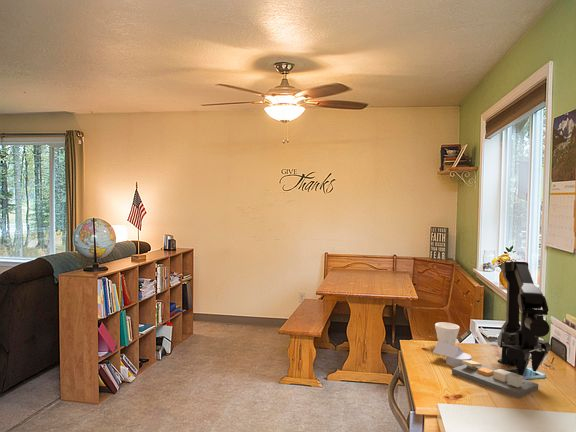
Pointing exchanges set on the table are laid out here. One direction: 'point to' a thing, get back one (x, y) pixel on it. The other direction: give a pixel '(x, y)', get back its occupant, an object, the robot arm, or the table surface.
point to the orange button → (485, 371)
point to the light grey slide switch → (515, 379)
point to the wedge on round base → (451, 354)
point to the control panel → (494, 381)
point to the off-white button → (501, 375)
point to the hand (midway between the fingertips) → (527, 373)
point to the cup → (447, 332)
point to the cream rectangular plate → (471, 363)
